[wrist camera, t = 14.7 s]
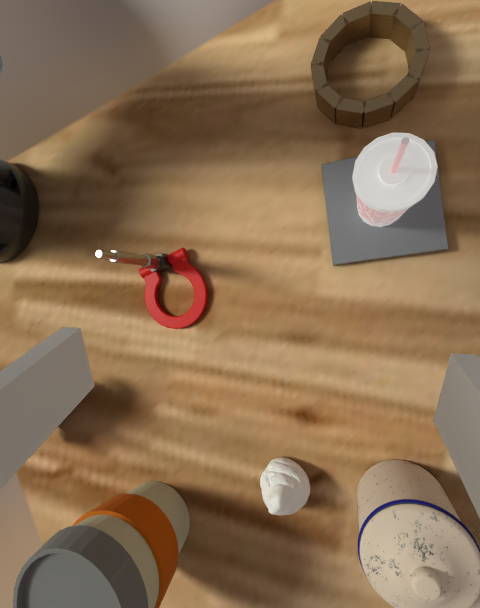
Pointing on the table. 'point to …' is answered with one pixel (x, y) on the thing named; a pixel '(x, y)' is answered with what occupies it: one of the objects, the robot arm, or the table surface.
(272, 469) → the white meringue swirl
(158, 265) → the tow hook
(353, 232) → the coaster
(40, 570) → the reusable coffee cup
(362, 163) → the beverage cup
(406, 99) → the stone block ring
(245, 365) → the table surface
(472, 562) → the teacup with lid
